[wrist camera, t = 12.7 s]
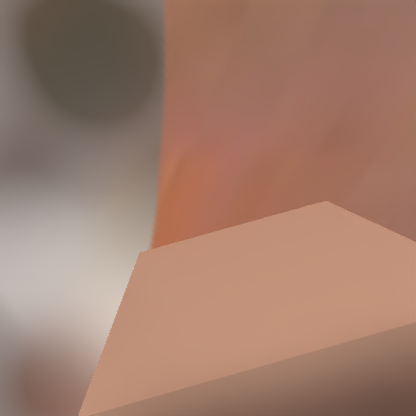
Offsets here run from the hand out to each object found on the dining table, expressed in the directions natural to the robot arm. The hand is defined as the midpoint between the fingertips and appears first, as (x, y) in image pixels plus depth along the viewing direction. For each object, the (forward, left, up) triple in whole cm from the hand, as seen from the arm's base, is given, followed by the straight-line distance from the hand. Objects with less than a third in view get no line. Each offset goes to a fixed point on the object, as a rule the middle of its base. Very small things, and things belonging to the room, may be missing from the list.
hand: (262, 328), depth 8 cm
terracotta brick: (0, 0, -1) cm, 1 cm away
